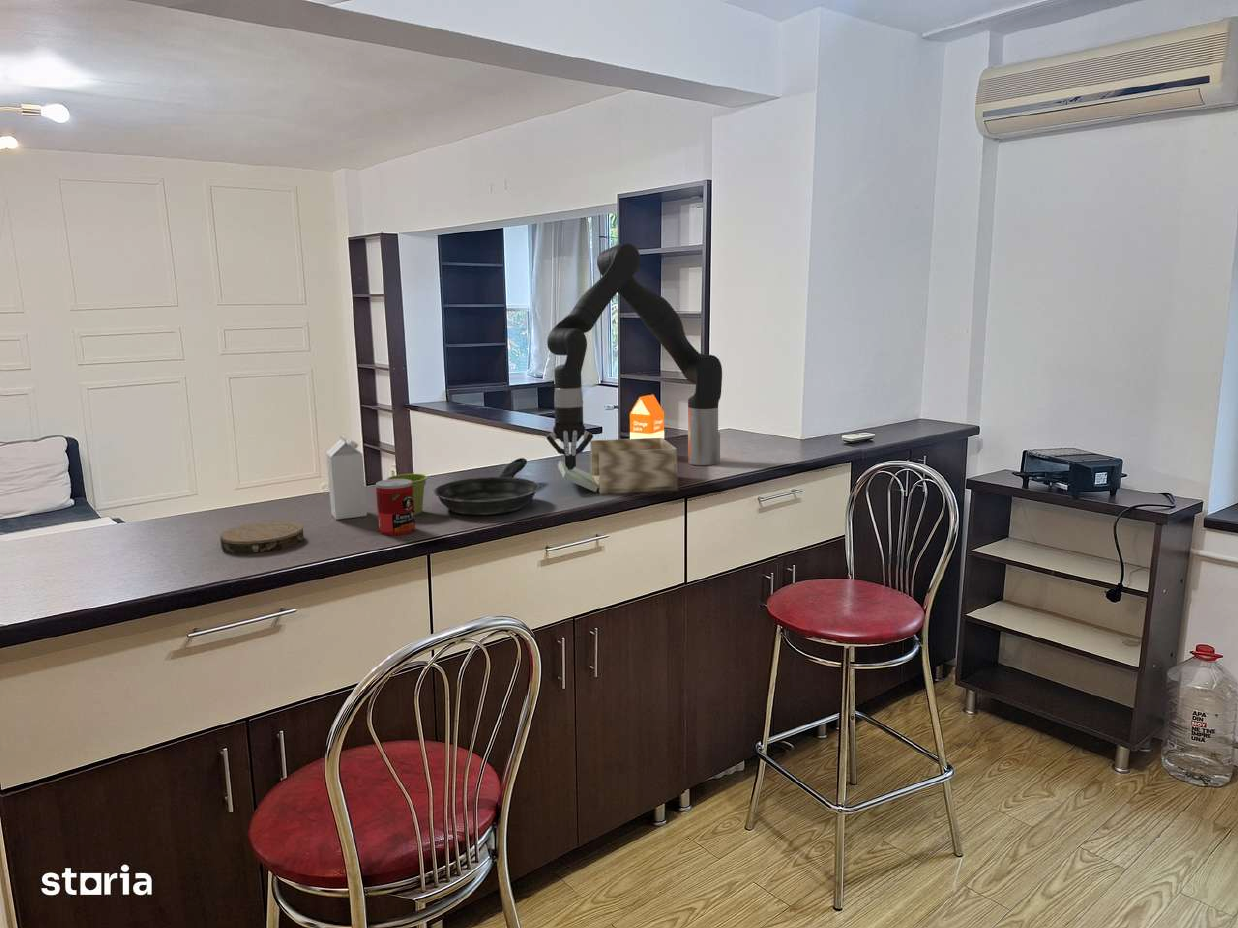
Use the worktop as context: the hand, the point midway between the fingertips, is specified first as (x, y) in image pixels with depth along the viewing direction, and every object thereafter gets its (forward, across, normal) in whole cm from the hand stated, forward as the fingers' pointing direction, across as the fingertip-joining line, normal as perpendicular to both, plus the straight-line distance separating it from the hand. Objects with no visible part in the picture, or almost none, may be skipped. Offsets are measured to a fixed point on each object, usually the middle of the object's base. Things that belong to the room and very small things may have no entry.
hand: (570, 468), depth 219 cm
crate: (+5, -16, 0) cm, 17 cm away
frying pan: (+6, +20, +11) cm, 23 cm away
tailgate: (+4, -6, 0) cm, 7 cm away
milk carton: (+5, +55, +19) cm, 58 cm away
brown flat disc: (+6, +69, +40) cm, 80 cm away
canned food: (+5, +42, +36) cm, 55 cm away
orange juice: (+5, -28, -39) cm, 49 cm away
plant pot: (+5, +41, +20) cm, 46 cm away
